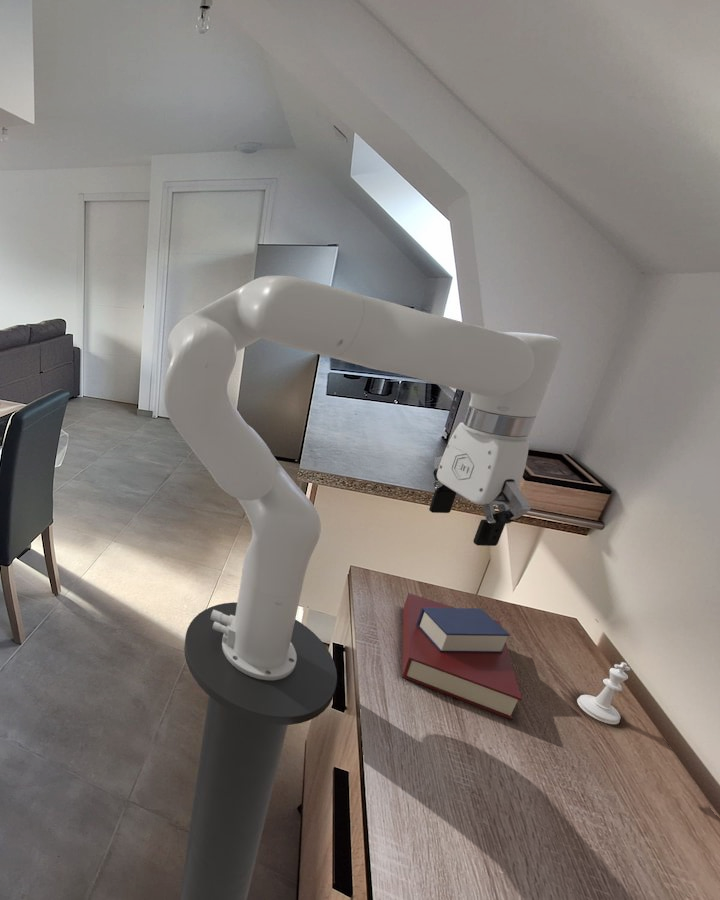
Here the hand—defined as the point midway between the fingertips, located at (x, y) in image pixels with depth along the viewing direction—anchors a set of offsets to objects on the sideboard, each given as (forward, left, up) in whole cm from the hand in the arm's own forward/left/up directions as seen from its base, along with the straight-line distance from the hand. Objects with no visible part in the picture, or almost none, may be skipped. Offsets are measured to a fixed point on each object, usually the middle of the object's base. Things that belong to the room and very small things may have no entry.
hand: (460, 527), depth 70 cm
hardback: (+6, +6, -28) cm, 30 cm away
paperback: (+6, +6, -24) cm, 25 cm away
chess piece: (+26, +6, -28) cm, 39 cm away
